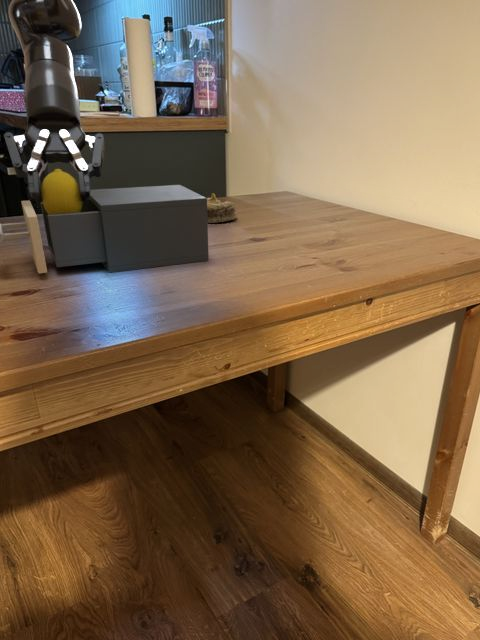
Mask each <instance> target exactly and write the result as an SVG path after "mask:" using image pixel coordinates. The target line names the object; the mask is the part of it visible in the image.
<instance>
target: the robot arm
mask: <svg viewBox="0 0 480 640" xmlns="http://www.w3.org/2000/svg"><path fill="white" fill-rule="evenodd" d="M8 17H9V21H10V24H11V27H12V28H13V31H14V32H15V34H16V37H17V38H18V40H19V41H18V42H19V44H20V46H21V50H22V54H23V57H24V71H25V72H24V73H25V79H24V98H25V110H26V127H27V128H26V130H25V132H24V133H23V134H21V135H20V134H19V135H14V134H13V132H9V131H7V132H5V133H4V134H3V138H4V140H5V144H6V147H7V150H8V151H7V152H8V153H9V157H10V161H11V164H12V167H13V170H14V171H15V175H16V177H17V178H19V179H23V178H27V185H28V192H29V195H30V197H31V199H34V200H35V202H36V203H41V202H42V197H41V187H42V182H41V176H42V173H43V171H45V170H46V168H47V166H48V164H55V163H63V164H71V166H72V168H73V170H75V171H76V172H77V175H78V185H79V188H80V194H81V200H82V201H87V198H89V197H90V196H91V190H92V189H91V182H90V180H91V178H93V177H95V178H100V177H102V174H103V168H104V167H103V166H104V158H105V150H106V147H105V137H104V135H103V134H102V133H99V132H98V133H96V134H95V136H92V135H86V133H85V132H84V130H83V128H82V119H81V109H80V105H81V103H80V99H79V92H78V91H79V90H78V86H77V83H76V79H75V78H76V77H75V70H74V60H73V58H74V57H73V54H72V50H71V49H70V48H69V46H68V45H67V43H69V42H72V41H75V40H78V38H79V37H80V35H81V31H82V20H81V15H80V13H79V10H78V8H77V6H76V3H75V2H74V0H11V1H10V4H9V6H8ZM26 145H27V146H28V147H29V148H30V149H31V150H32V151H31V153H30V159H29V161H28V163H23V161H22V158H21V156H20V154H22V153H23V151H24V147H25V146H26ZM86 146H88V147H89V151H90V152H92V159H91V163H87V162H86V161H85V159H84V158H83V155H82V153H81V152H82V151H83V150H84V148H85V147H86Z"/></svg>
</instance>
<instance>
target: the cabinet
mask: <svg viewBox="0 0 480 640" xmlns="http://www.w3.org/2000/svg"><path fill="white" fill-rule="evenodd" d="M90 190H91V196H90V197H89V198H87V199H89V200H90V201H91V202H92V203H93V204H94V205H95V206H96V207H97V208H98V209H99V210H100V213H101V221H102V229H103V237H104V245H105V253H106V261H107V262H101V264H102V265H103V267H104V268H105V269H106V270H107V272H108V273H111V274H112V273H117V272H118V273H119V272H127V271H135V270H143V269H151V268H159V267H167V266H174V265H182V264H183V265H184V264H191V263H198V262H209V260H210V259H209V258H210V257H209V225H208V224H209V223H208V221H207V198H208V197H205V196H204V195H201V194H199V193H197V192H195V191H193V190H191V189H189V188H187V187H185V186H183V185H181V184H172V185H169V184H168V185H153V186H152V185H151V186H135V187H132V186H131V187H118V188H100V189H99V188H98V189H97V188H96V189H90Z"/></svg>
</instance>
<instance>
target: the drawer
mask: <svg viewBox="0 0 480 640" xmlns="http://www.w3.org/2000/svg"><path fill="white" fill-rule="evenodd" d="M20 202H21V203H20V204H21V208H22V212H23V218H24V221H23V222H12V223H0V243H3V242H4V240H9V239H18V238H28V243H29V248H30V253H31V256H32V258H33V262H34V265H35V268H36V271H37V273H38V274H46V273H48V268H47V263H46V258H45V252H44V247H43V241H42V236H41V230H40V224H39V220H38V216H37V214H36V211H35V209H34V207H33V205H32V202H31V201H30V200H21V201H20ZM40 207H41V213H42V219H43V225H44V230H45V231H44V232H45V237H46V241H47V246H48V250H49V253H50V256H51V257H52V260H53V262H54V264H55V266H56V268H64V267H72V266H81V265H89V264H98V263H102V262H107V261H106V253H105V245H104V237H103V229H102V221H101V213H100V210H99V209H98V208H97V207H96V206H95V205H94V204H93V203H92V202H91V201H90V200H89V199H87V201H82V209H81V212H80V213H66V214H53V215H49V214H48V213H47V212H46V210H45V208H44V206H43V203H42V202H40ZM18 228H19V229H21V228H26V231H21V232H20V231H19V232H7V233H4V230H7V229H18Z"/></svg>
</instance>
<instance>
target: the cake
mask: <svg viewBox="0 0 480 640" xmlns="http://www.w3.org/2000/svg"><path fill="white" fill-rule="evenodd" d="M206 198H207V221H208V224H215V223H223V222H228V221H232V220H233V221H234V220H235V219H237V218H238V213H237V212H236V206H235V203H233V202H232V201H228V200H226V201H224V202H221V200H219V199H218V198H217V197H216V194H215V193H213V192H212V193H211V196H210V197H206Z"/></svg>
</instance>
